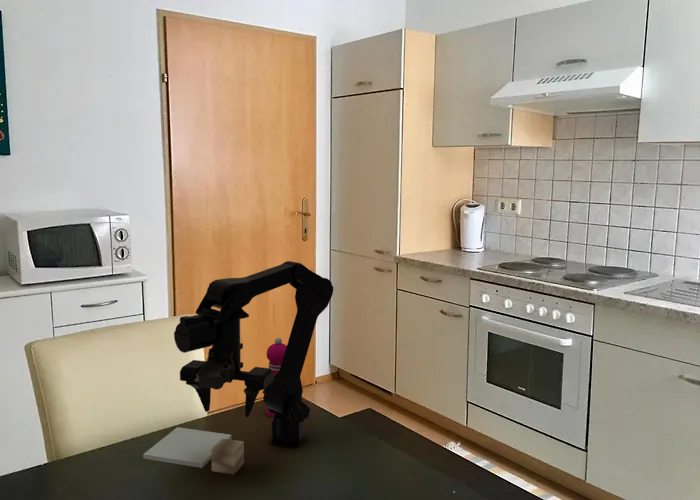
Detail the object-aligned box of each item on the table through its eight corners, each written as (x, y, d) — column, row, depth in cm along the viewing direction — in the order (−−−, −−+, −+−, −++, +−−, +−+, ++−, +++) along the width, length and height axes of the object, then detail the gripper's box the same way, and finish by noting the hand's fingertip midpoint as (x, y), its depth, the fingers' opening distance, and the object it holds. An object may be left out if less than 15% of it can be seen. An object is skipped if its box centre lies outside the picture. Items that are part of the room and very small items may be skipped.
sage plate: (231, 438, 139) (231, 434, 139) (202, 467, 126) (201, 463, 126) (177, 431, 143) (177, 427, 143) (143, 458, 129) (143, 454, 129)
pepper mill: (287, 420, 150) (287, 343, 147) (260, 417, 152) (259, 340, 149) (295, 408, 157) (296, 334, 154) (269, 406, 159) (269, 332, 156)
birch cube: (243, 463, 128) (243, 441, 128) (233, 474, 124) (233, 452, 123) (222, 460, 130) (222, 438, 129) (211, 471, 125) (211, 448, 124)
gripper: (163, 348, 117) (166, 424, 120) (251, 358, 113) (252, 436, 115) (192, 333, 128) (194, 402, 130) (274, 341, 123) (274, 413, 125)
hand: (227, 413), depth 125 cm, fingers open, 9 cm apart
